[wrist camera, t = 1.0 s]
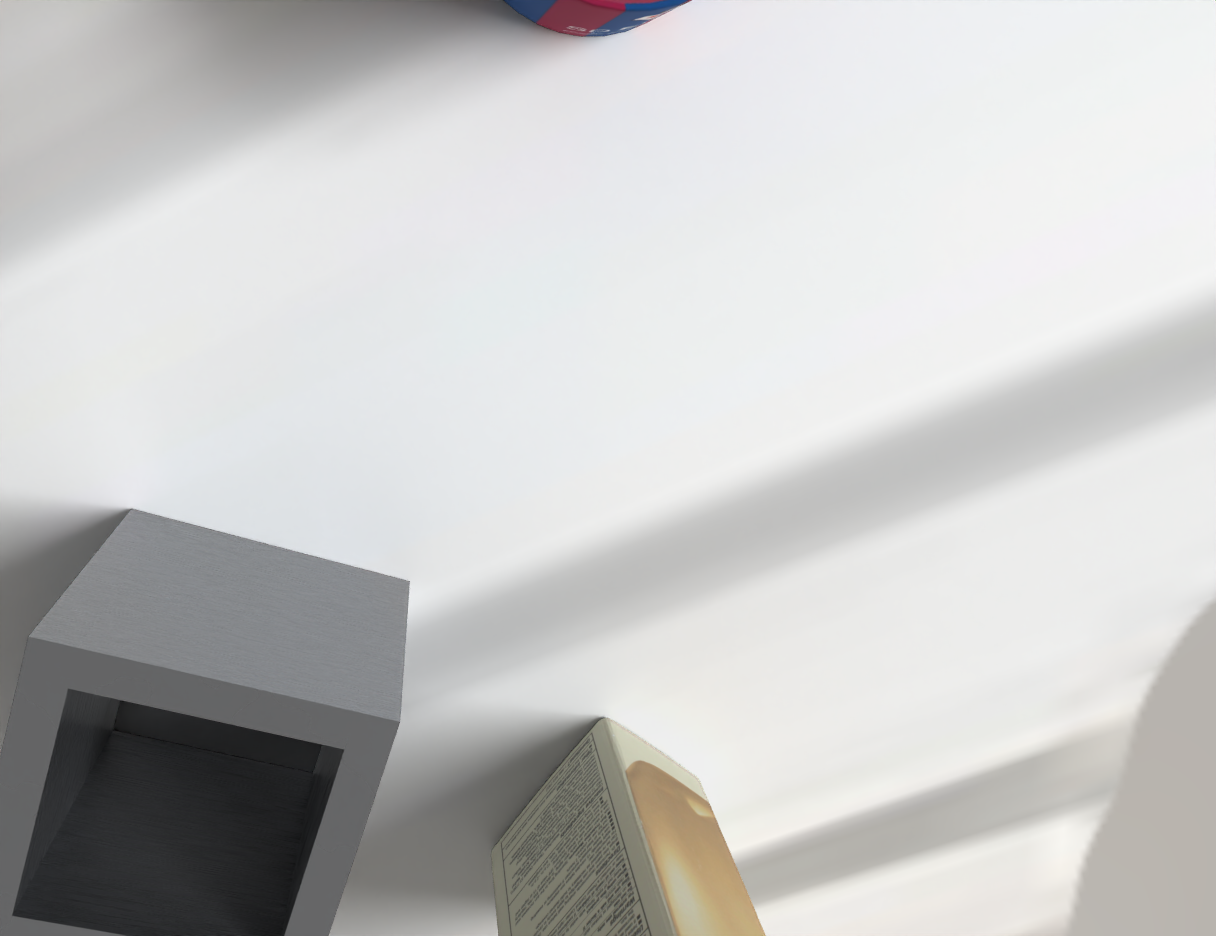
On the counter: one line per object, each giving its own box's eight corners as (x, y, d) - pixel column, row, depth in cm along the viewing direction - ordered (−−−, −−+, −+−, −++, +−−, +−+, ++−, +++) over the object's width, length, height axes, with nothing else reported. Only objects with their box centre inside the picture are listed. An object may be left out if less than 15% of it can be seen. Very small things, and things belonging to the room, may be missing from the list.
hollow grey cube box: (70, 751, 32) (-44, 943, 25) (131, 508, 30) (28, 636, 23) (336, 806, 34) (306, 1001, 26) (409, 581, 32) (400, 722, 25)
